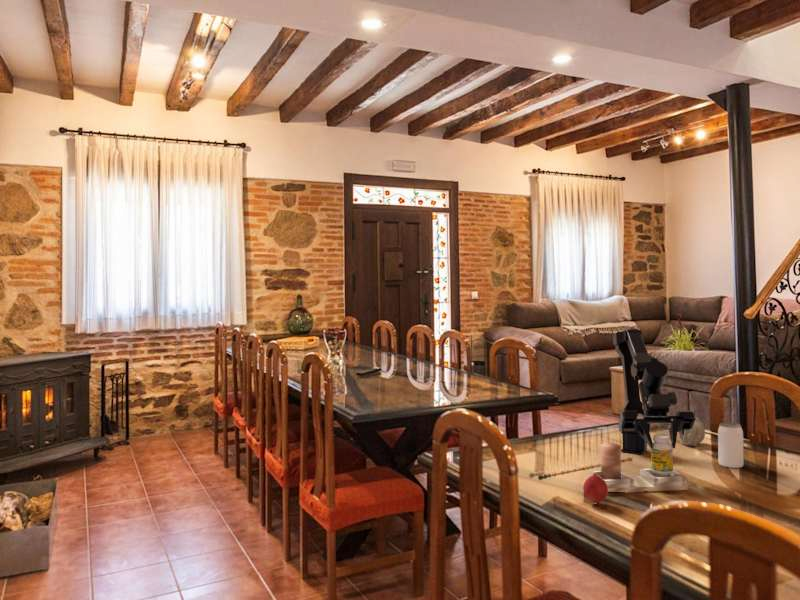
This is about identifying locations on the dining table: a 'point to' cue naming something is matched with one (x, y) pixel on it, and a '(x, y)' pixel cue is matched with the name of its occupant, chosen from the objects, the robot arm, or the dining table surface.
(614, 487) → the candle holder
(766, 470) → the dining table surface
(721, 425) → the can
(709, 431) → the dining table surface
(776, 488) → the dining table surface
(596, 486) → the onion
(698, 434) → the grey round lump
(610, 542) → the dining table surface
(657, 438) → the supplement bottle
